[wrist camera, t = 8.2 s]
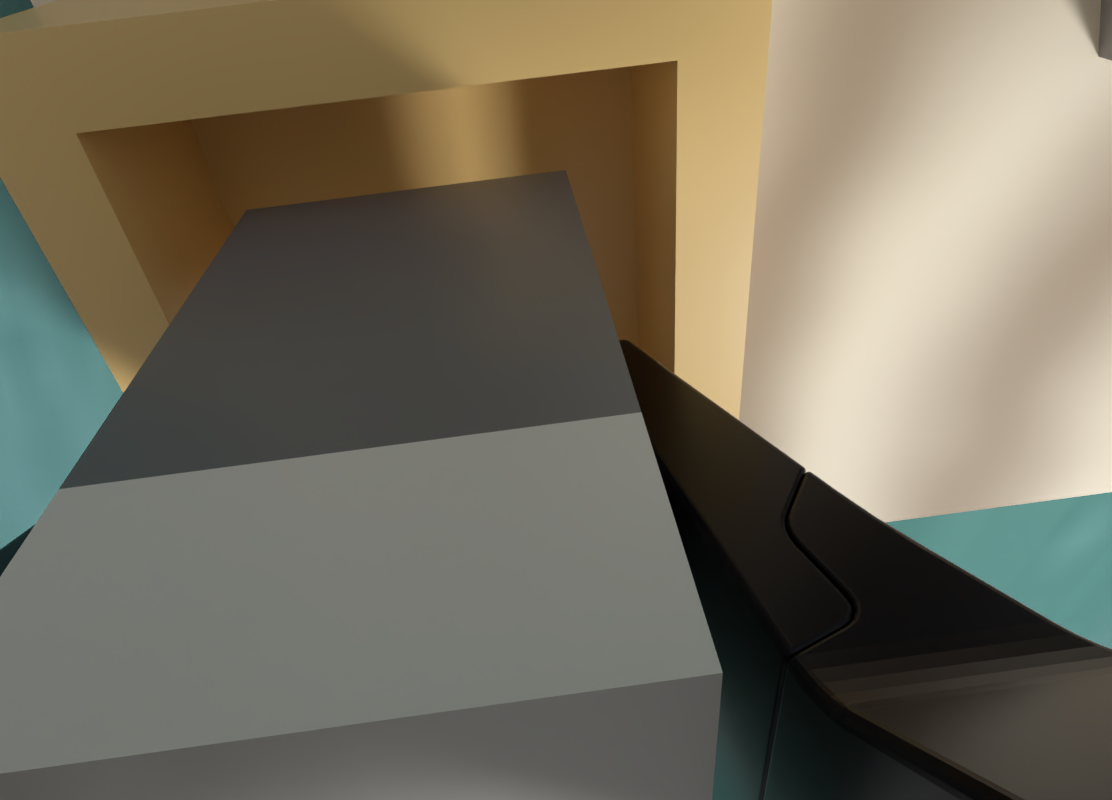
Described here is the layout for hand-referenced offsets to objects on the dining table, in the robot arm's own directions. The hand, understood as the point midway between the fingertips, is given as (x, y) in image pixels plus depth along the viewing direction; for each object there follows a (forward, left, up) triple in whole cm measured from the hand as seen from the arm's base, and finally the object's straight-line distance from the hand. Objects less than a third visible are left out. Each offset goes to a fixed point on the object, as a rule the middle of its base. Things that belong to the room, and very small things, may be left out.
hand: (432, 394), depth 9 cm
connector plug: (0, 0, -2) cm, 2 cm away
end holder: (0, 0, -5) cm, 5 cm away
